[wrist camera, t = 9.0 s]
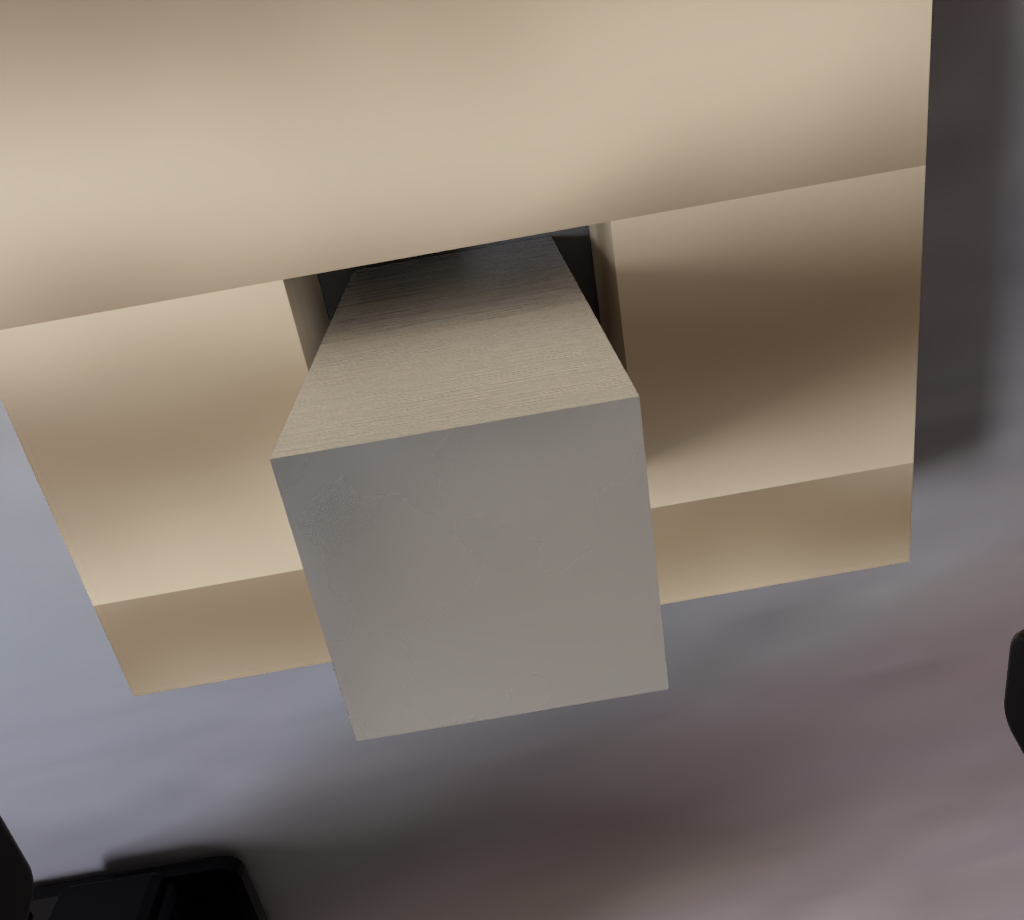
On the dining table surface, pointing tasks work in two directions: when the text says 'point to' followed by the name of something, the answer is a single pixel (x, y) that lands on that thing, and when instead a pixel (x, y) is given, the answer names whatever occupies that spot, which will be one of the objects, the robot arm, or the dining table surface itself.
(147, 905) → the robot arm
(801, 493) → the socket block
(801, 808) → the dining table surface
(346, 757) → the dining table surface
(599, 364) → the peg
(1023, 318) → the dining table surface
